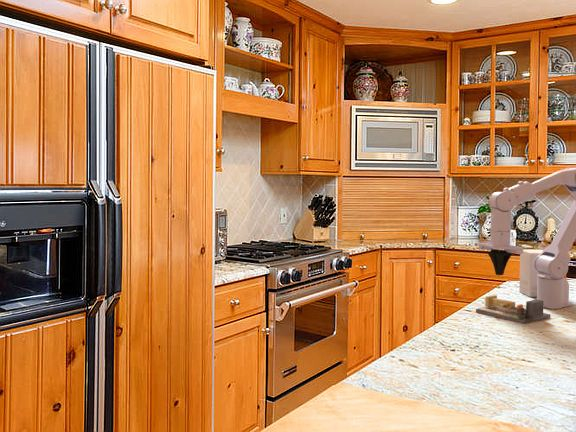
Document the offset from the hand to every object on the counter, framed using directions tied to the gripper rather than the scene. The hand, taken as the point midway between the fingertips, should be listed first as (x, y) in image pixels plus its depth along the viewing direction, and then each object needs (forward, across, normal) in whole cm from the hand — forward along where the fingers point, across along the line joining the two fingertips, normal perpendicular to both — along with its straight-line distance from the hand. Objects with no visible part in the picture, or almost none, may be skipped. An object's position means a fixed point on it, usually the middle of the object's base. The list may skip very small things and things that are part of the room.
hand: (499, 274), depth 170 cm
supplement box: (+10, -4, +26) cm, 28 cm away
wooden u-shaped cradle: (+9, +5, -7) cm, 12 cm away
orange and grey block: (+8, +14, -10) cm, 19 cm away
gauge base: (+10, +9, -6) cm, 15 cm away
